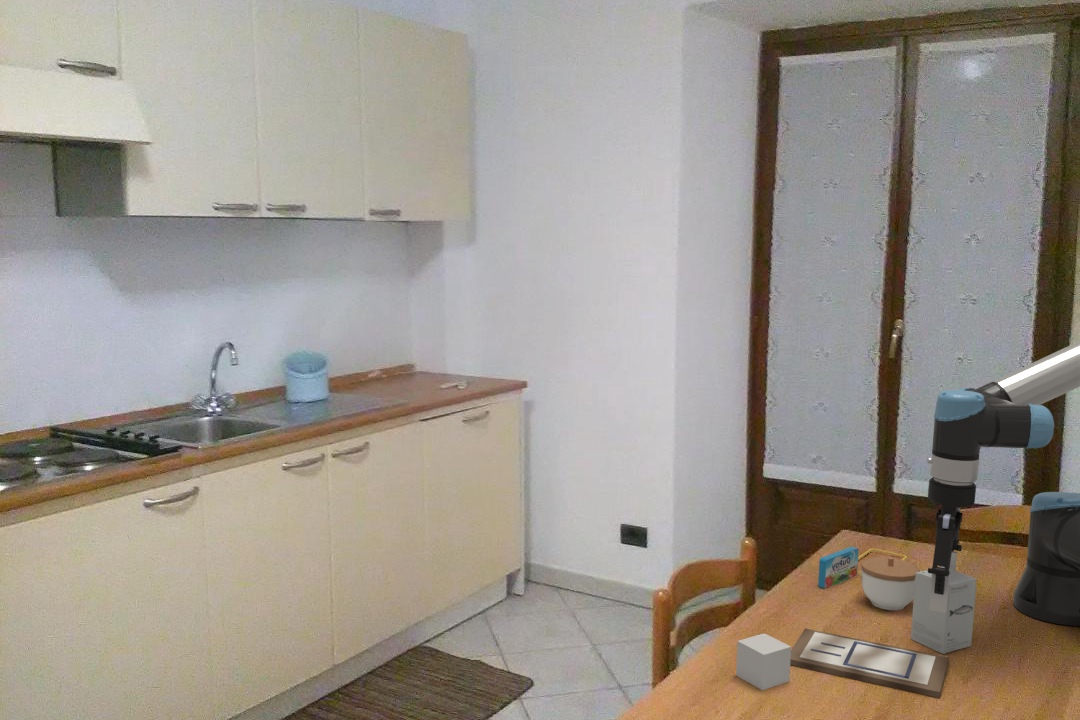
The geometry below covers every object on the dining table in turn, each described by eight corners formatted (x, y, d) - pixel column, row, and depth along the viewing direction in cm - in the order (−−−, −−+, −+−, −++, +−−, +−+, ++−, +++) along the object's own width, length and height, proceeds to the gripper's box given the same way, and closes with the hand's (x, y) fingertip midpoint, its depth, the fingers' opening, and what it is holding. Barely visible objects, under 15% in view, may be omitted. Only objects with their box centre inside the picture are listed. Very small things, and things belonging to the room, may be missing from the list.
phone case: (907, 561, 214) (908, 555, 214) (880, 582, 201) (881, 576, 201) (871, 553, 219) (871, 547, 219) (842, 573, 206) (842, 567, 206)
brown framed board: (948, 663, 163) (949, 655, 163) (939, 698, 151) (940, 690, 151) (804, 633, 174) (805, 626, 174) (785, 663, 162) (785, 656, 162)
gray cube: (735, 675, 158) (737, 640, 157) (762, 667, 161) (764, 633, 160) (762, 690, 153) (764, 654, 152) (789, 682, 156) (791, 646, 155)
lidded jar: (908, 595, 193) (911, 550, 192) (924, 616, 183) (927, 569, 181) (853, 592, 194) (856, 547, 193) (866, 613, 184) (869, 566, 182)
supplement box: (943, 655, 166) (948, 584, 164) (909, 639, 173) (914, 571, 171) (973, 647, 169) (978, 578, 168) (938, 631, 176) (943, 564, 174)
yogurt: (824, 589, 196) (825, 560, 195) (818, 587, 197) (819, 558, 196) (857, 576, 204) (858, 548, 203) (850, 574, 205) (852, 546, 204)
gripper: (937, 462, 180) (927, 572, 182) (920, 493, 158) (909, 617, 161) (981, 468, 176) (970, 580, 179) (970, 500, 154) (958, 627, 157)
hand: (941, 598), depth 170 cm, fingers open, 13 cm apart
